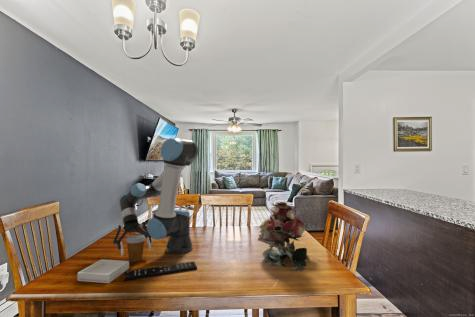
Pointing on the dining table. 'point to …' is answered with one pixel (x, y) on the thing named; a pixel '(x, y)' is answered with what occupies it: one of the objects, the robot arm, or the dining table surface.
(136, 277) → the remote control
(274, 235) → the rose bouquet
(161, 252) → the dining table surface
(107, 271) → the tray
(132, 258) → the disposable coffee cup
